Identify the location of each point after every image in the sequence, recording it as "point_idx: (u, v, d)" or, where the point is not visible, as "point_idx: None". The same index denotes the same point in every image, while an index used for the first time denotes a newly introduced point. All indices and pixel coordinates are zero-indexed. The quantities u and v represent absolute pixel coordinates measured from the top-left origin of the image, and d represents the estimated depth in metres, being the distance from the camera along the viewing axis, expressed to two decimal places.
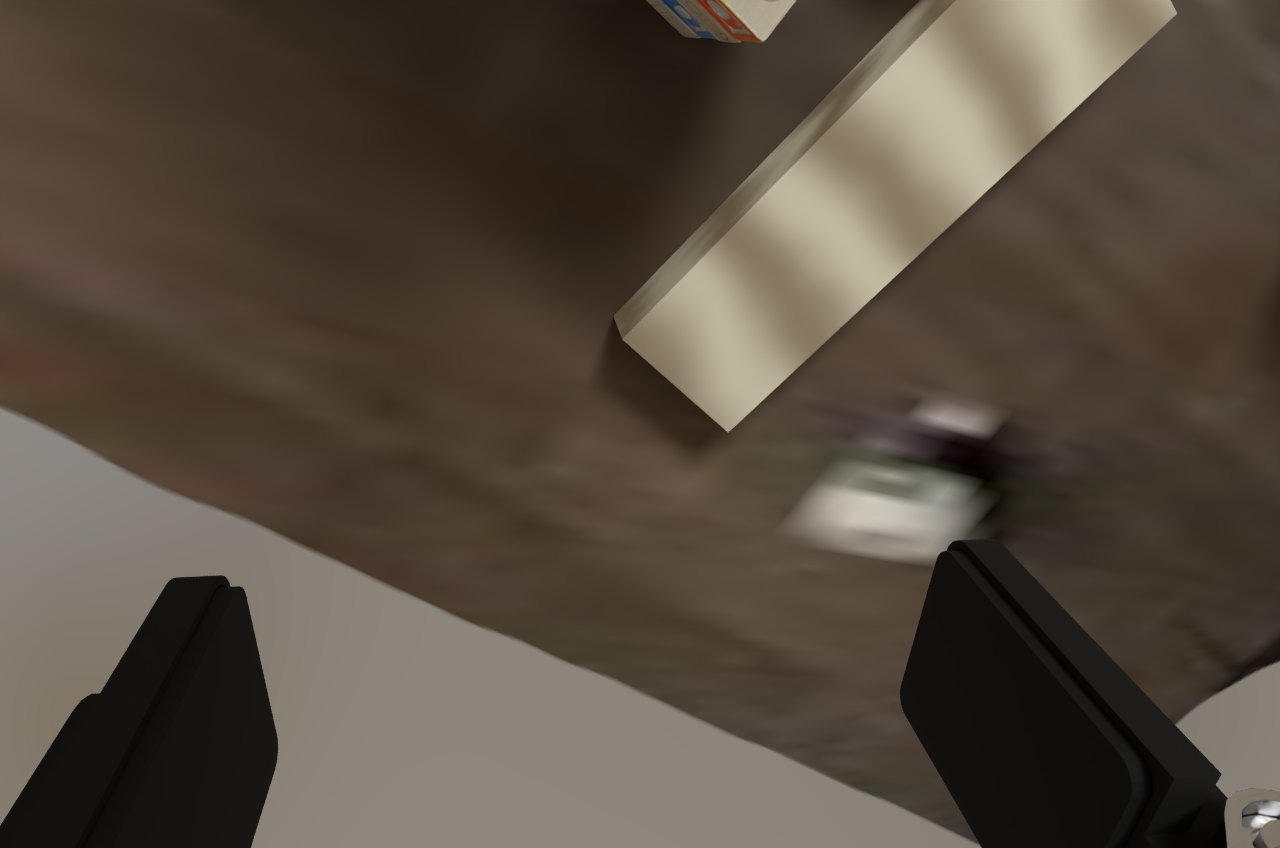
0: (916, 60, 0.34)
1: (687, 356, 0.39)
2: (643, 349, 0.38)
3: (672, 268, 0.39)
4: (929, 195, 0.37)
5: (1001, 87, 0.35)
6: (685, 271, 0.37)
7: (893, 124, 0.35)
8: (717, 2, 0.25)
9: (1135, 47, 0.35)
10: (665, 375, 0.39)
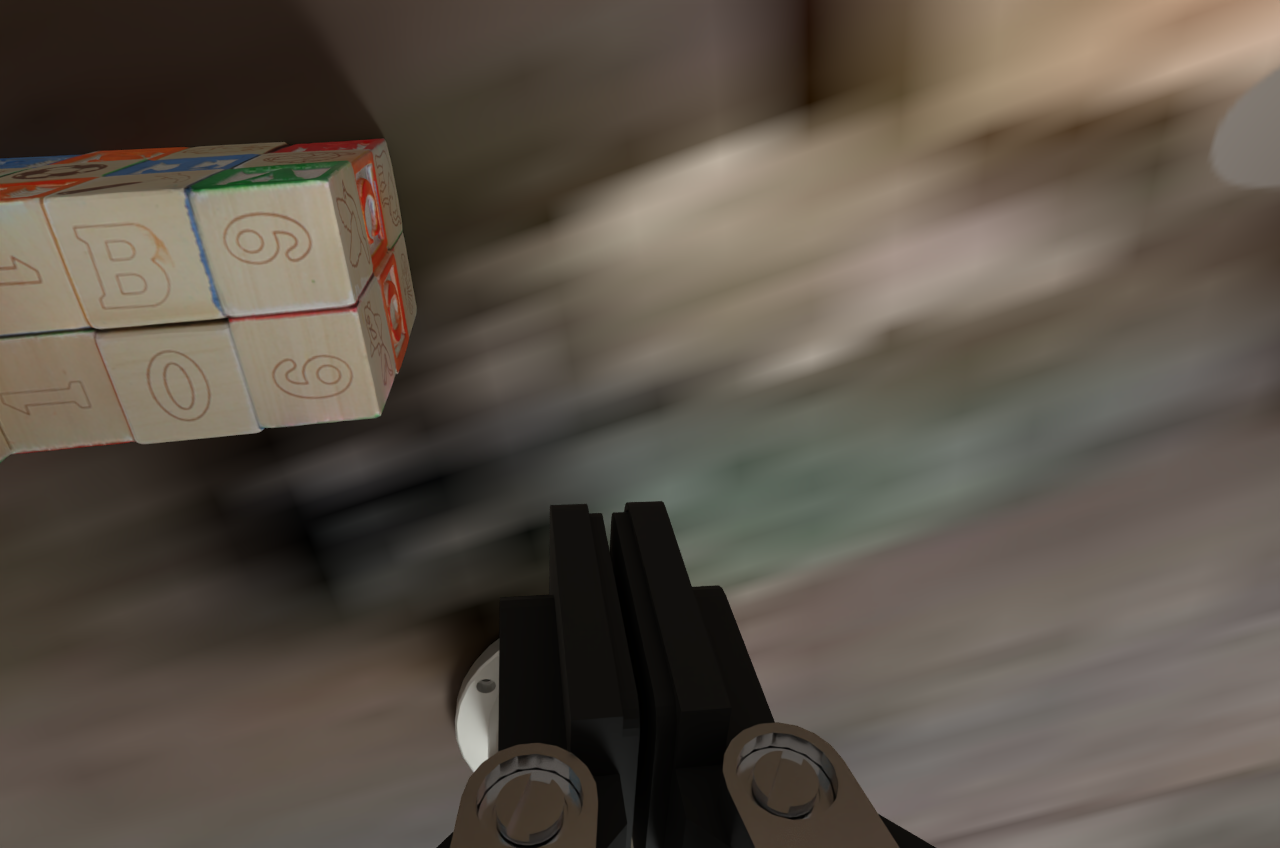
0: None
1: None
2: None
3: None
4: None
5: None
6: None
7: None
8: None
9: None
10: None
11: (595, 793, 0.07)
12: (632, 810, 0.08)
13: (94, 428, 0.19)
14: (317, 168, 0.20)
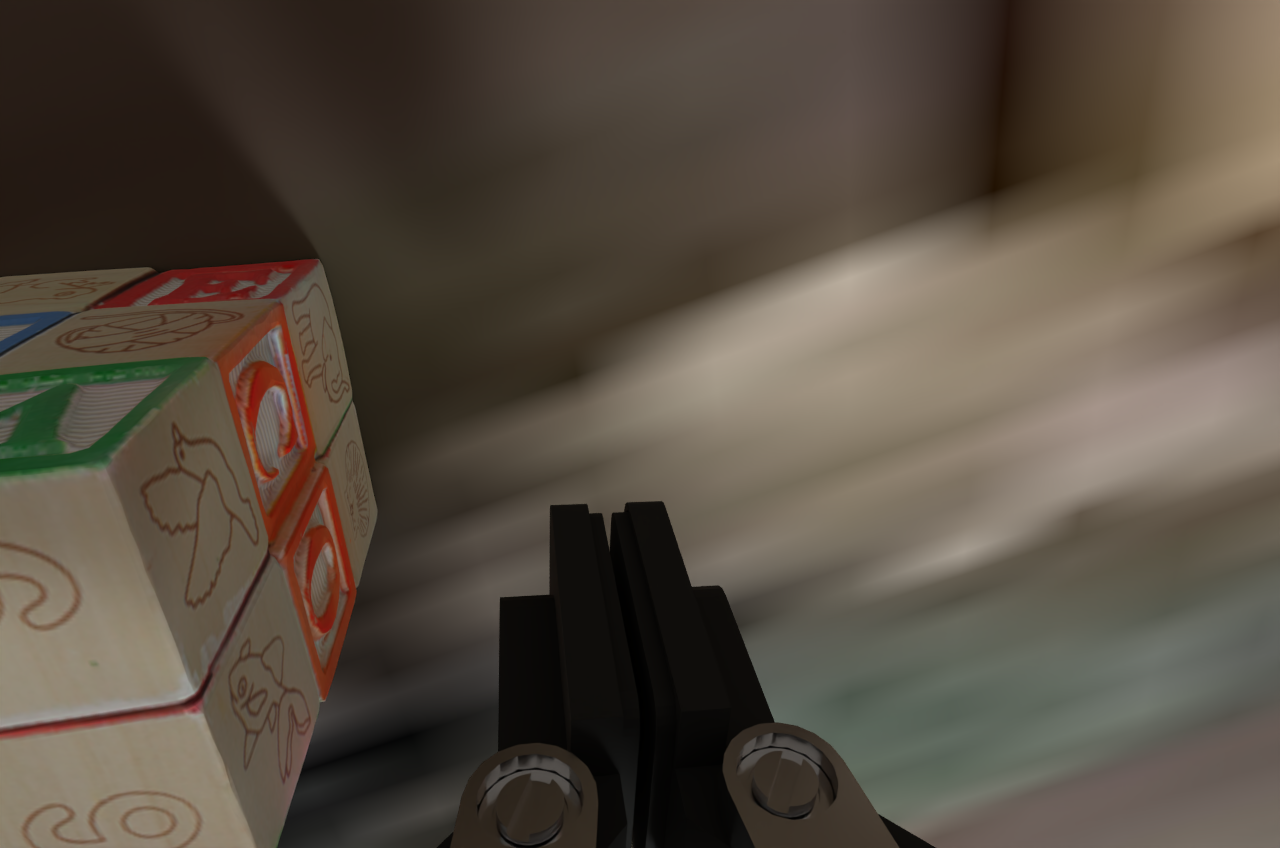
0: None
1: None
2: None
3: None
4: None
5: None
6: None
7: None
8: None
9: None
10: None
11: (595, 793, 0.07)
12: (632, 810, 0.08)
13: None
14: (137, 379, 0.09)
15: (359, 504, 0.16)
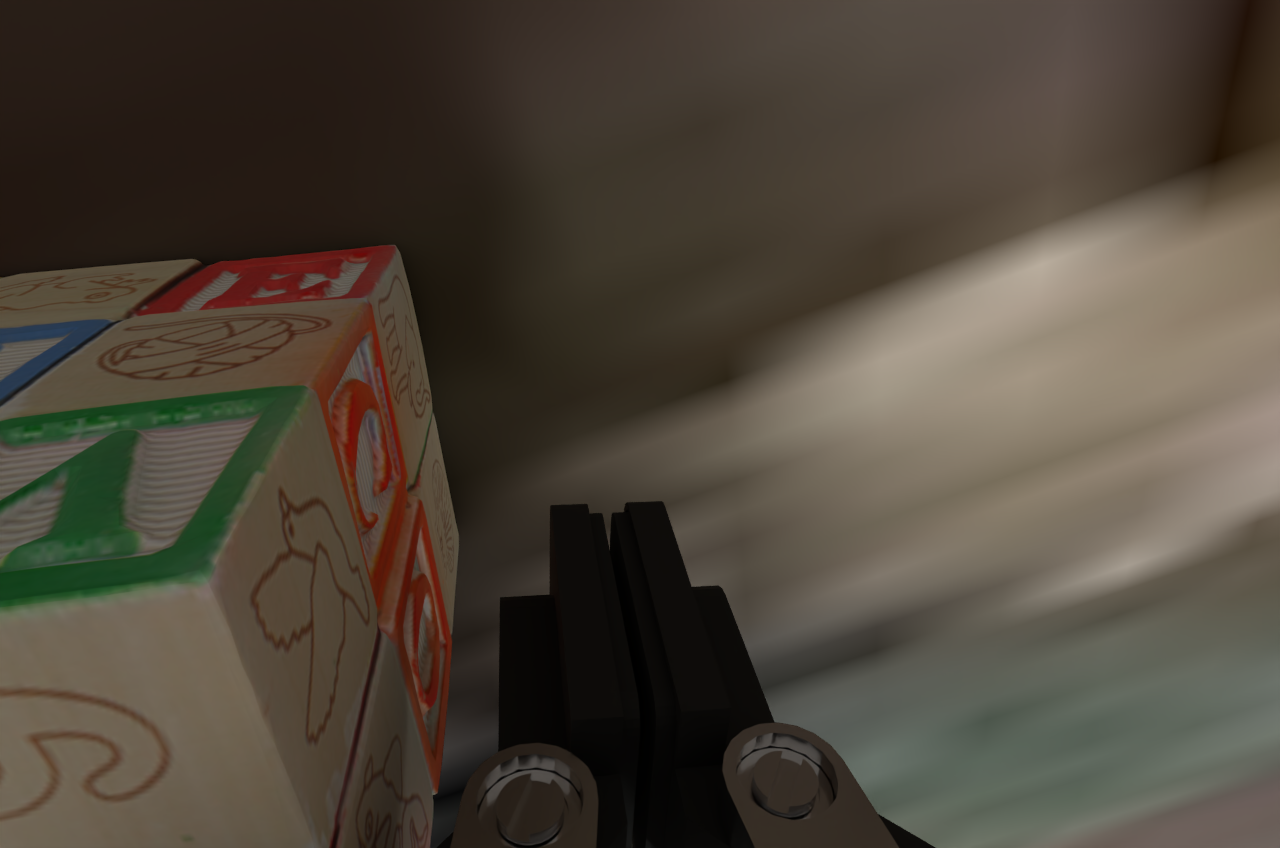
0: None
1: None
2: None
3: None
4: None
5: None
6: None
7: None
8: None
9: None
10: None
11: (595, 793, 0.07)
12: (632, 810, 0.08)
13: None
14: (217, 420, 0.07)
15: (446, 534, 0.14)
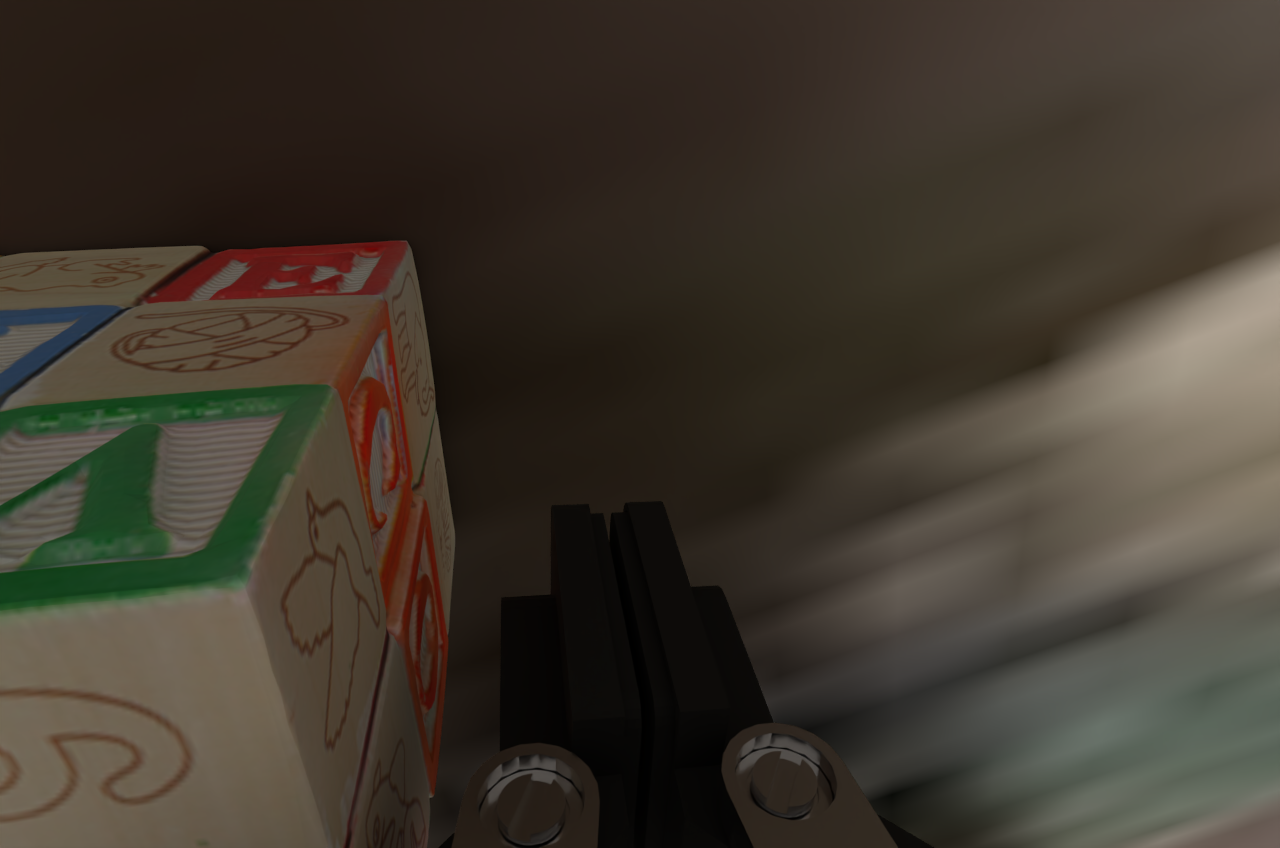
0: None
1: None
2: None
3: None
4: None
5: None
6: None
7: None
8: None
9: None
10: None
11: (597, 793, 0.07)
12: (631, 810, 0.08)
13: None
14: (239, 416, 0.07)
15: (445, 533, 0.14)
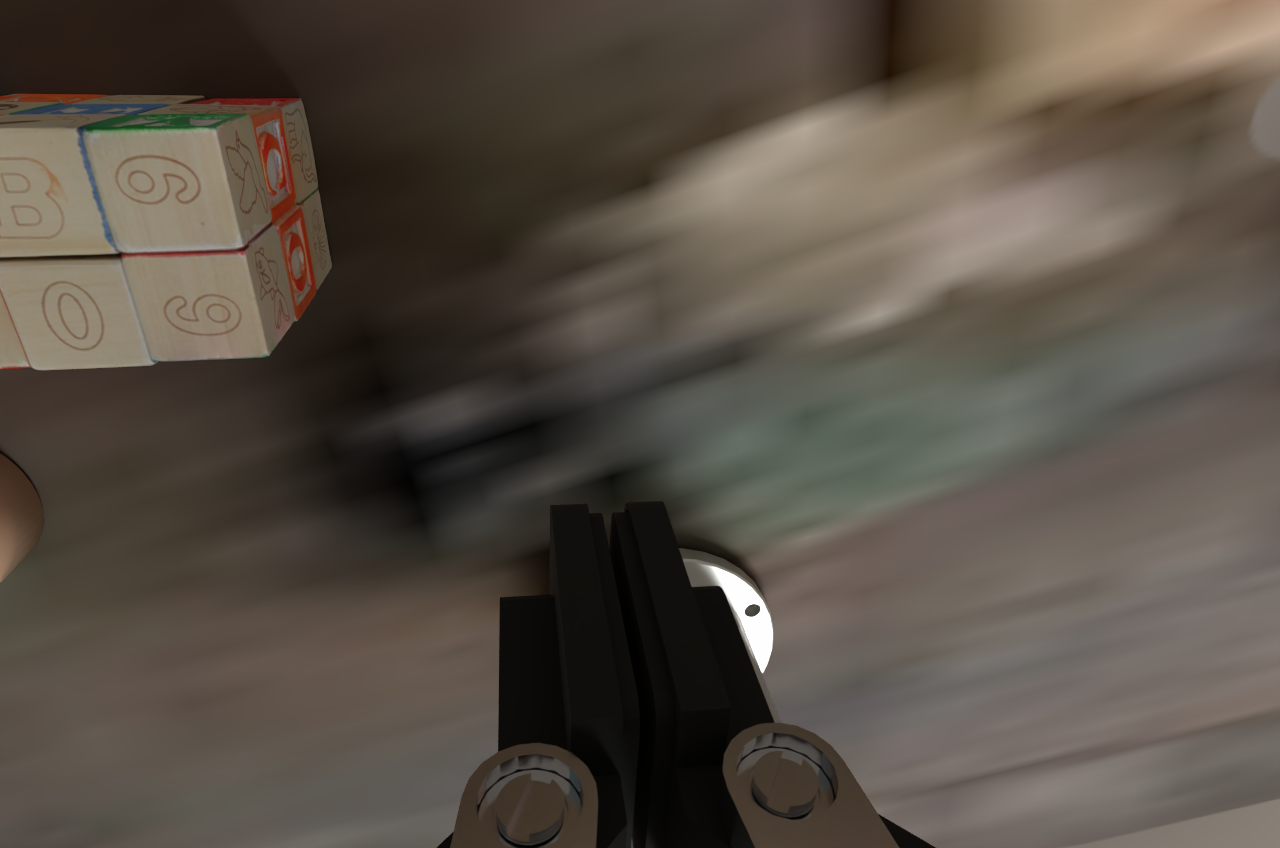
0: None
1: None
2: None
3: None
4: None
5: None
6: None
7: None
8: None
9: None
10: None
11: (595, 793, 0.07)
12: (632, 810, 0.08)
13: None
14: (216, 118, 0.21)
15: (320, 248, 0.28)
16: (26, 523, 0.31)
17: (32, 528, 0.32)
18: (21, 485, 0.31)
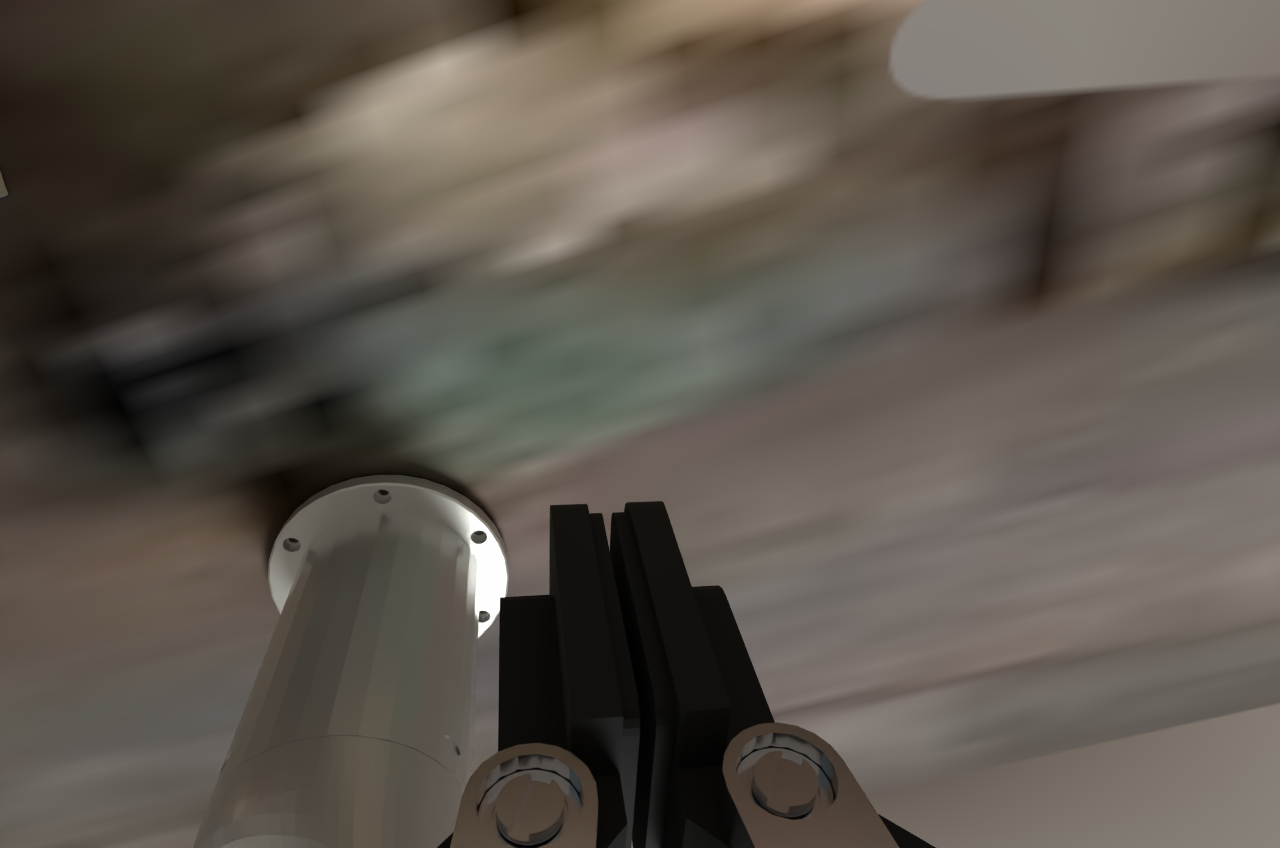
0: None
1: None
2: None
3: None
4: None
5: None
6: None
7: None
8: None
9: None
10: None
11: (595, 793, 0.07)
12: (632, 810, 0.08)
13: None
14: None
15: None
16: None
17: None
18: None
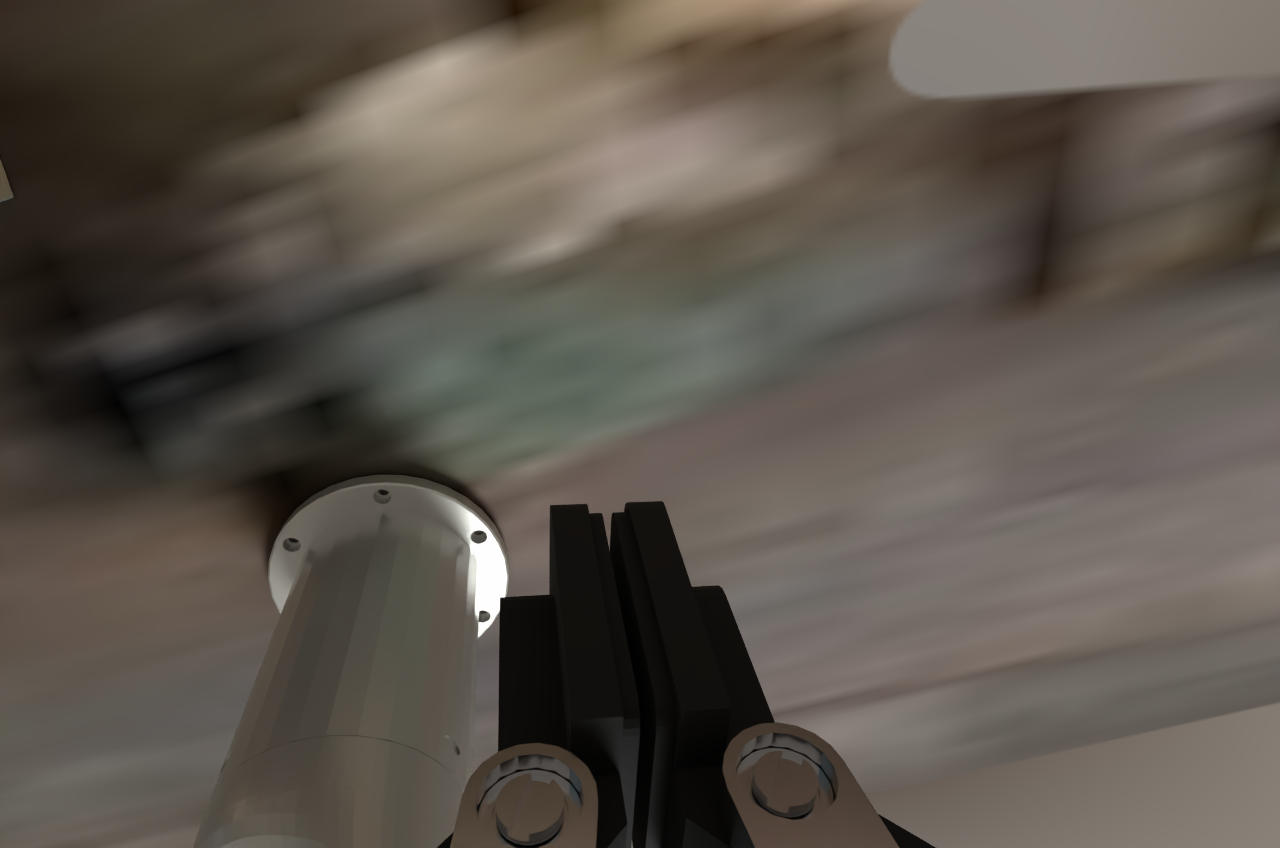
0: None
1: None
2: None
3: None
4: None
5: None
6: None
7: None
8: None
9: None
10: None
11: (595, 793, 0.07)
12: (632, 810, 0.08)
13: None
14: None
15: None
16: None
17: None
18: None
